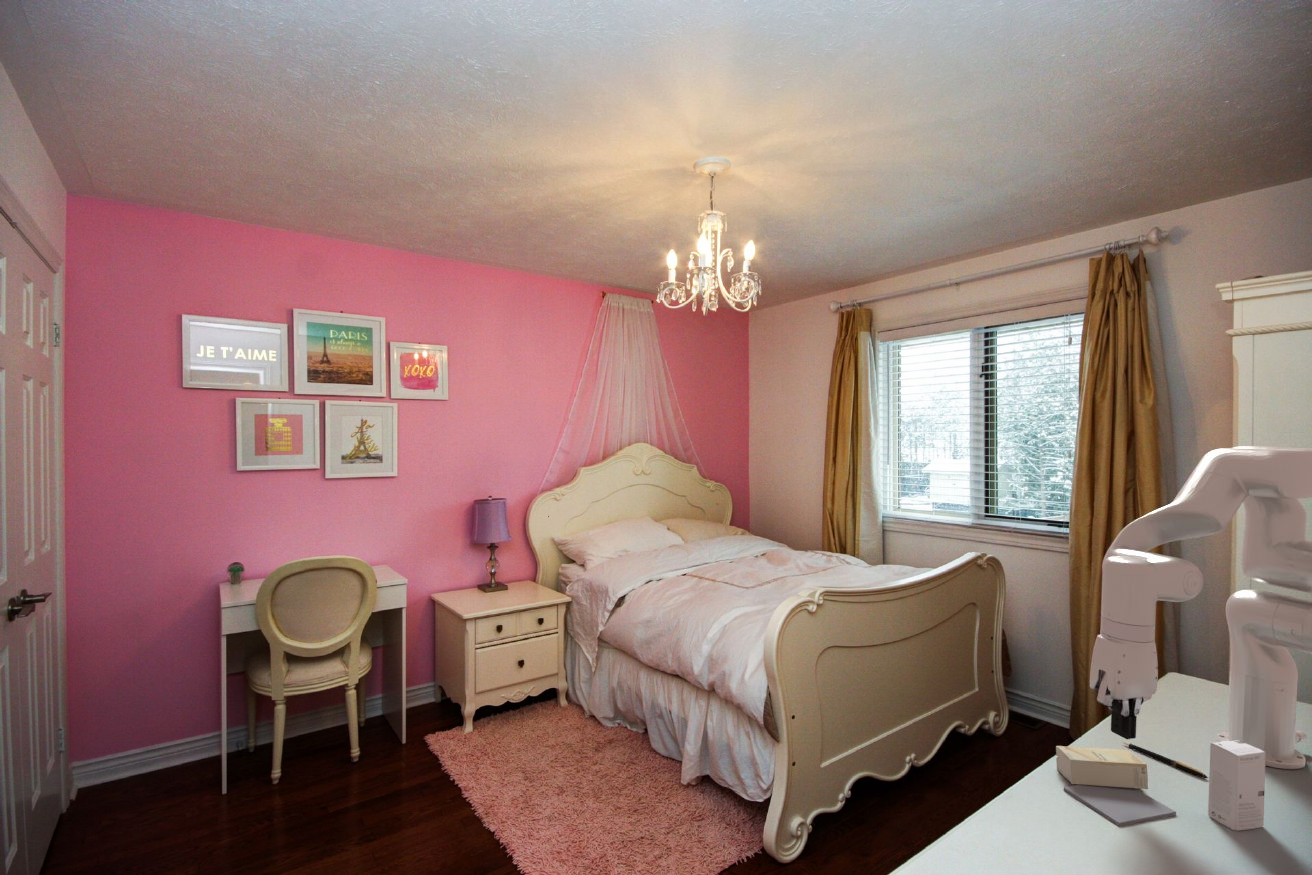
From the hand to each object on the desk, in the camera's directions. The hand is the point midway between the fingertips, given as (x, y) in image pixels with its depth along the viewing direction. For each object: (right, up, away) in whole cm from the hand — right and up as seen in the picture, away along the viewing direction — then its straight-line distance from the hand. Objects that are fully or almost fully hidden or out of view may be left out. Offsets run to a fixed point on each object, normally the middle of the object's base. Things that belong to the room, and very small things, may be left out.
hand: (1123, 734), depth 110 cm
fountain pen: (+15, -11, +11) cm, 22 cm away
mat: (-3, -10, -2) cm, 11 cm away
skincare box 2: (+13, -11, -7) cm, 18 cm away
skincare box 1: (+5, -7, +3) cm, 9 cm away
